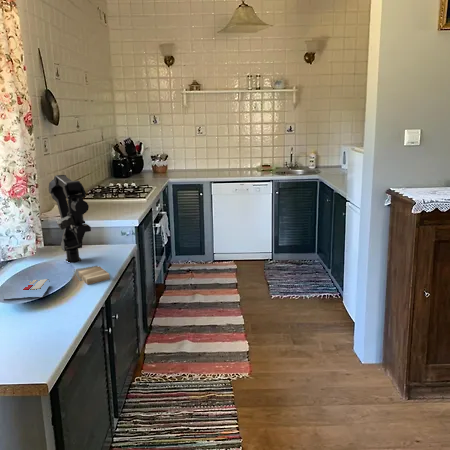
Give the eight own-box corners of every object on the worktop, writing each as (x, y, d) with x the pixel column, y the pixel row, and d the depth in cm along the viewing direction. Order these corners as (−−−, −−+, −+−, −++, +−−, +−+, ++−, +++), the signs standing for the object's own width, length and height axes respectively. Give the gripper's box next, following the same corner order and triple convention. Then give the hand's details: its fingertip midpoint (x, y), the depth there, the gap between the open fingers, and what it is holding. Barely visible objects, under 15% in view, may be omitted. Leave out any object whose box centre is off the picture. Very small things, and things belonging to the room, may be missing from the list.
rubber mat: (73, 270, 213) (73, 269, 213) (97, 266, 217) (97, 265, 217) (79, 281, 199) (79, 281, 198) (104, 277, 203) (103, 276, 203)
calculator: (12, 281, 193) (49, 277, 194) (14, 290, 194) (51, 287, 195) (1, 291, 183) (40, 287, 183) (3, 301, 184) (42, 297, 184)
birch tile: (78, 271, 203) (86, 279, 194) (99, 266, 208) (109, 273, 199) (78, 276, 204) (87, 284, 194) (100, 271, 209) (109, 279, 199)
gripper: (51, 209, 210) (55, 242, 214) (63, 216, 195) (67, 252, 199) (76, 205, 216) (80, 238, 220) (89, 212, 201) (93, 247, 205)
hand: (79, 243), depth 211 cm, fingers closed
